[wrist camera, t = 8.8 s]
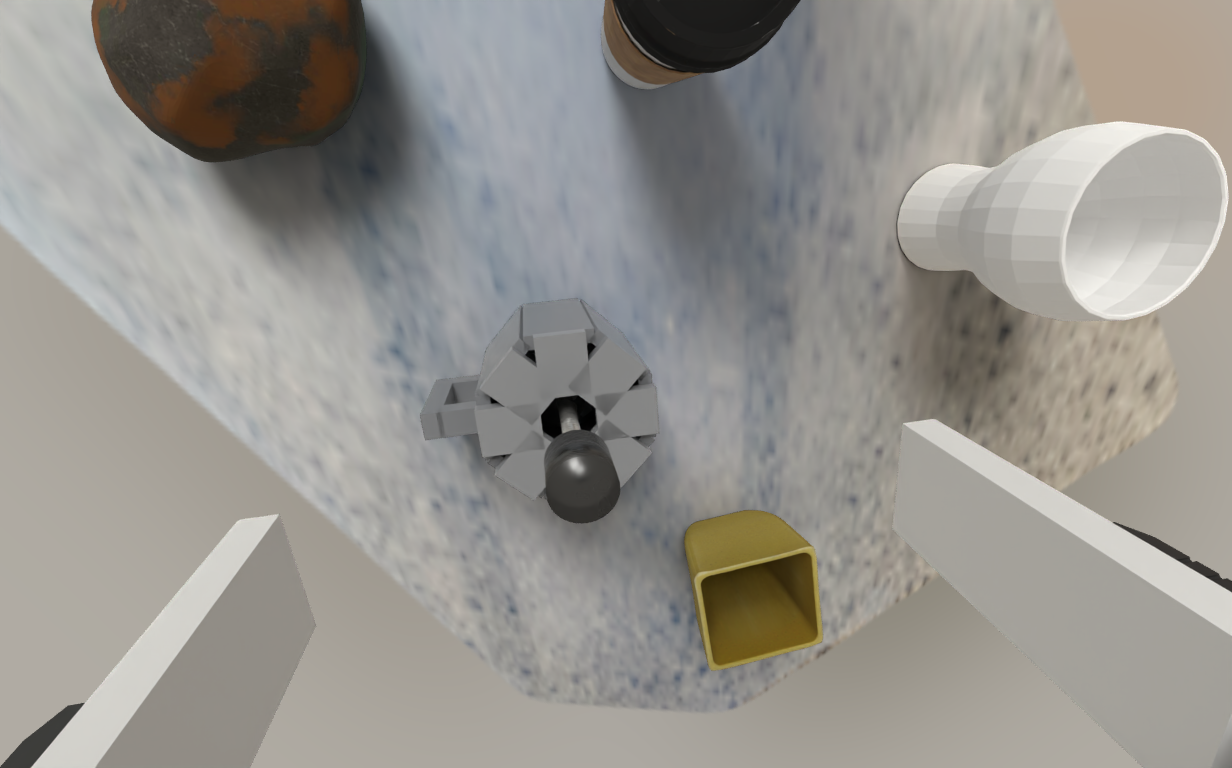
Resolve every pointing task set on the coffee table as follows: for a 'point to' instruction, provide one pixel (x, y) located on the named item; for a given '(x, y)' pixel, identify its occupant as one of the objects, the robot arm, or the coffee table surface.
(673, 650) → the coffee table surface
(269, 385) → the coffee table surface
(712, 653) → the flower pot
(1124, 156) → the cup
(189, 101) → the rock
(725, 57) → the coffee cup
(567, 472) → the plunger
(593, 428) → the press carafe
